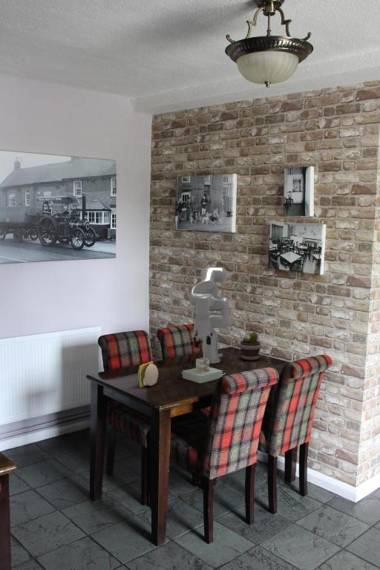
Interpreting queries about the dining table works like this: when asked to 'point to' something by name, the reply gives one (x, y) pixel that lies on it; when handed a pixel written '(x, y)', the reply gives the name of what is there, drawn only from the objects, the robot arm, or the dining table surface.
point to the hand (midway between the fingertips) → (202, 346)
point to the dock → (202, 375)
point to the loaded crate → (202, 365)
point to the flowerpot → (250, 347)
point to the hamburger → (147, 374)
